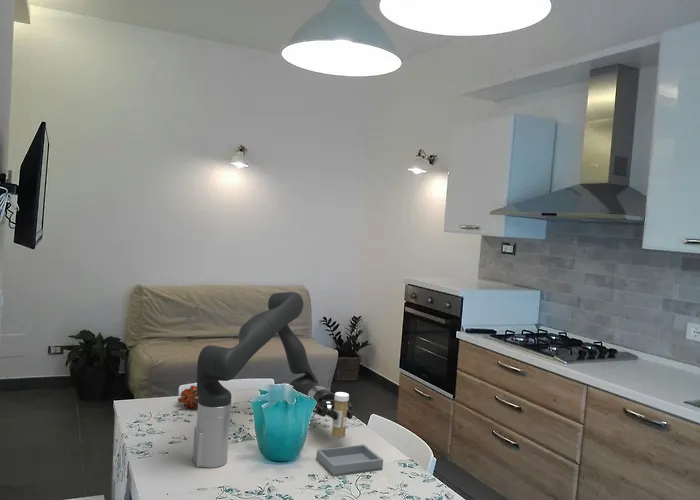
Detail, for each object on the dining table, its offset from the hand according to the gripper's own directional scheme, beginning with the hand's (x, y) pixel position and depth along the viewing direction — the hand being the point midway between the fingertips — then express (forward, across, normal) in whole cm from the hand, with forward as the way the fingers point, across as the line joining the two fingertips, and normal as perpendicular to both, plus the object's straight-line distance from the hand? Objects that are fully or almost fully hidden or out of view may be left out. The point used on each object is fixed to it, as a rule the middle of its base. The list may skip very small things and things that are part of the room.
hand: (343, 416), depth 181 cm
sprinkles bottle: (-3, 0, +7) cm, 8 cm away
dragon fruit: (-52, -36, +12) cm, 64 cm away
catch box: (+9, -2, +11) cm, 15 cm away
